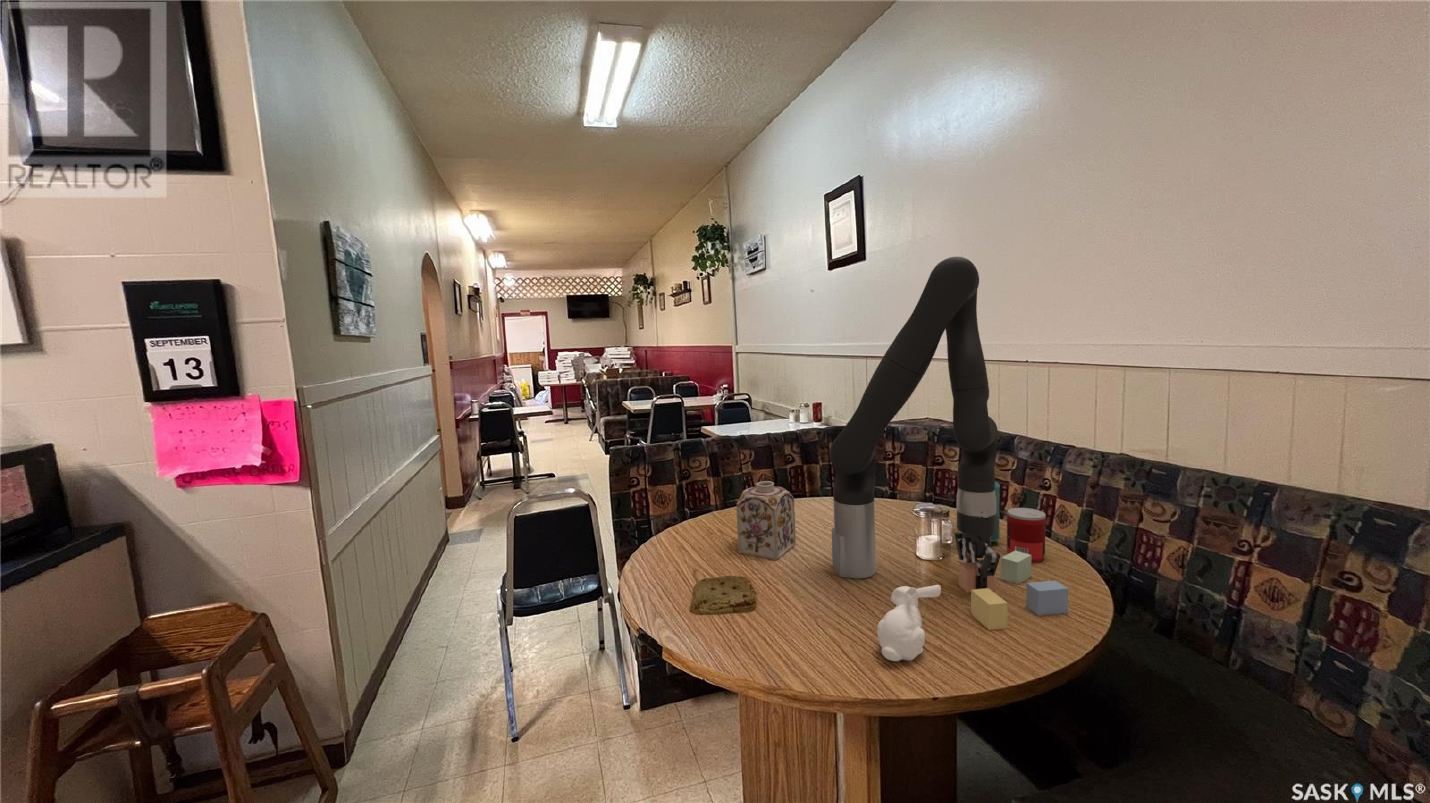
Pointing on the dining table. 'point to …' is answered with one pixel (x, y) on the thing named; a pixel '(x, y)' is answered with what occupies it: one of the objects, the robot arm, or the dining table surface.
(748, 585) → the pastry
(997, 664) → the dining table surface
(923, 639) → the rabbit
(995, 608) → the ochre brick
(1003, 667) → the dining table surface
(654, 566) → the dining table surface
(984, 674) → the dining table surface
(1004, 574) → the sage brick
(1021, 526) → the canned food
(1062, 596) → the slate brick
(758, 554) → the decorative jar
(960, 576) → the terracotta brick
